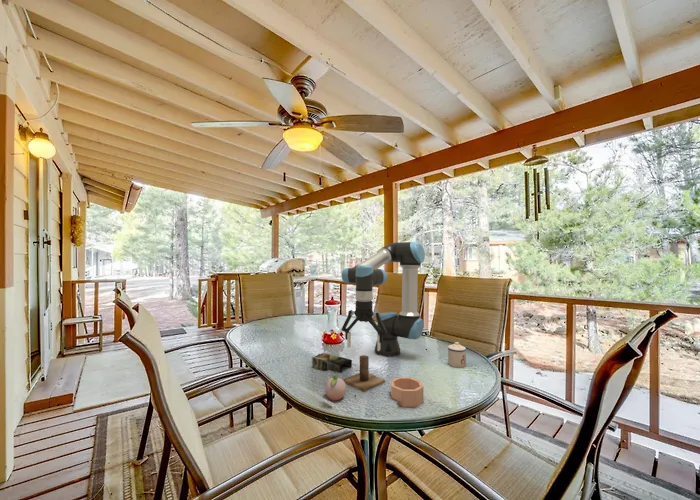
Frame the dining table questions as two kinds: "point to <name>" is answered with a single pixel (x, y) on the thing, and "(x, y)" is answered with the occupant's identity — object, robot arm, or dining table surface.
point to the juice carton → (330, 362)
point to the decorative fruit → (335, 388)
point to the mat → (367, 390)
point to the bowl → (407, 391)
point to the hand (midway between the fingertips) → (363, 348)
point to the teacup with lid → (456, 355)
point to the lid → (364, 377)
